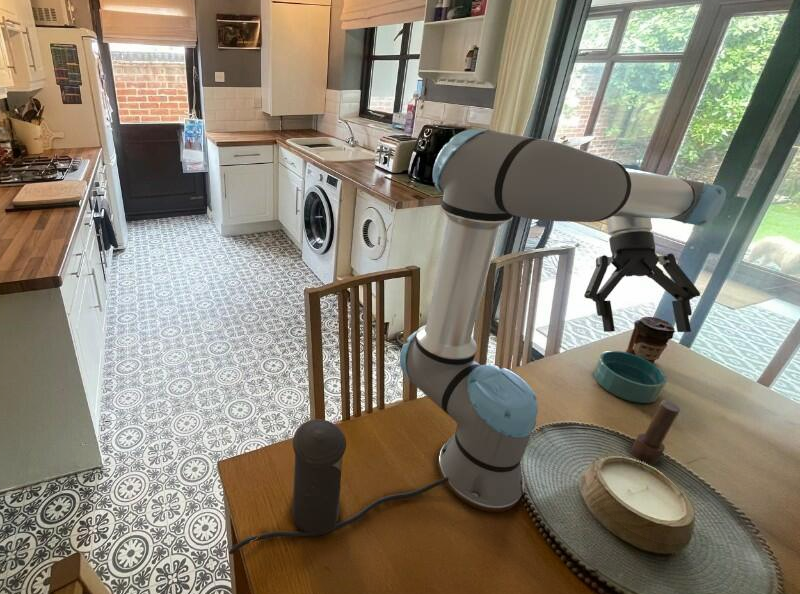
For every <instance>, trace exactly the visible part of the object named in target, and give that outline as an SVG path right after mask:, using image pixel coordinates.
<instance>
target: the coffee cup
mask: <svg viewBox="0 0 800 594" xmlns="http://www.w3.org/2000/svg"><path fill="white" fill-rule="evenodd" d="M633 324H634V326H633V330H632V332H631V334H630V339H629V341H628V345H627V349H626V351H625V352H626V353H630V354H633V355H636V356H639V357H641V358H643V359H646V360H648V361H649V362H651V363H653V364H654V365H655V361H657V360H659V359H660V357H661V355H662V353H663V352H664V351H665V349H666V348H667V347H668V344H667V343H669V341H670V340H672V339H673V338H674V333H676V331H675V327H674V326H673V325H672V323H670V322H669V321H667V320H665V319H661V318H659V317H654V316H643V317H641V318H640V319H637V320H635V321H634V322H633Z"/></svg>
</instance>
